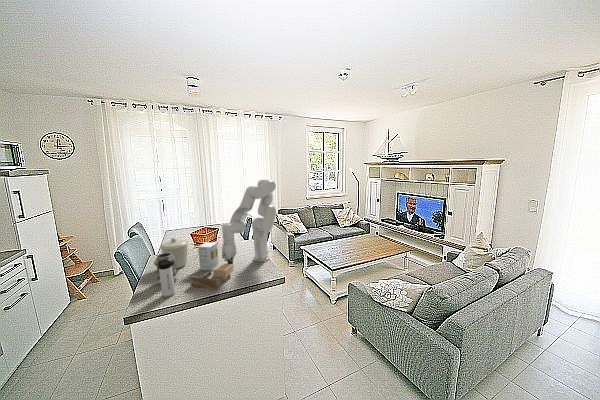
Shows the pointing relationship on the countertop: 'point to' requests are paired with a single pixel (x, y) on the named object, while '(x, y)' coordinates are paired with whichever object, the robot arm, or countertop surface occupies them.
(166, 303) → the countertop surface
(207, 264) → the supplement box
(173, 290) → the travel mug
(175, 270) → the apothecary jar
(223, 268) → the kraft carton
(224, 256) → the robot arm
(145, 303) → the countertop surface
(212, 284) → the stand
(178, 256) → the canister
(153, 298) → the countertop surface
